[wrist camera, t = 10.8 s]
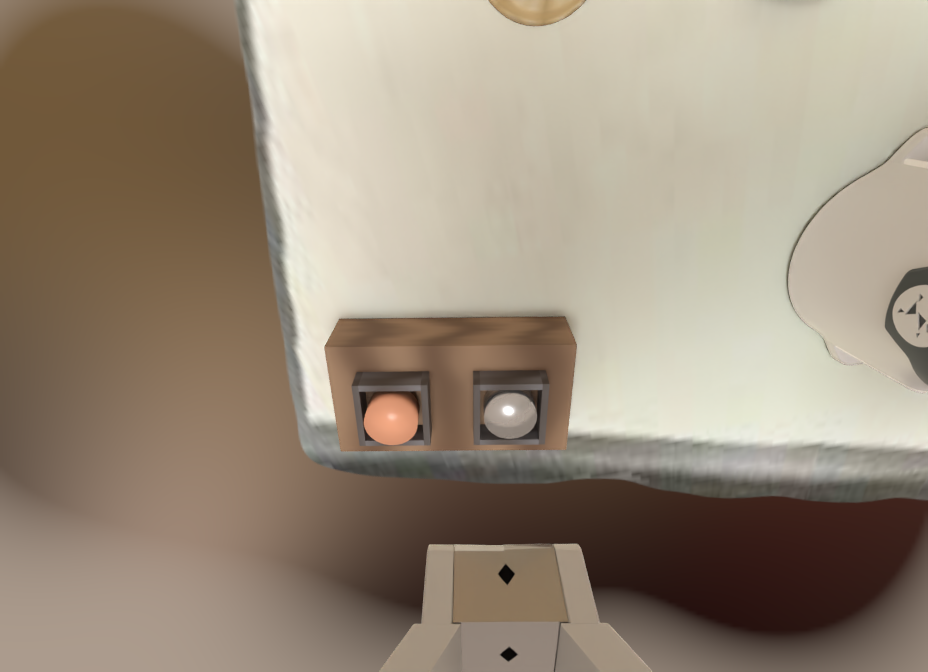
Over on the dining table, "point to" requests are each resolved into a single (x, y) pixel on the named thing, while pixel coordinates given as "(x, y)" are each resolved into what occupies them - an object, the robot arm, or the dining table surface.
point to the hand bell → (536, 10)
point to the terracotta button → (392, 417)
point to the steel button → (509, 412)
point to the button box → (452, 377)
